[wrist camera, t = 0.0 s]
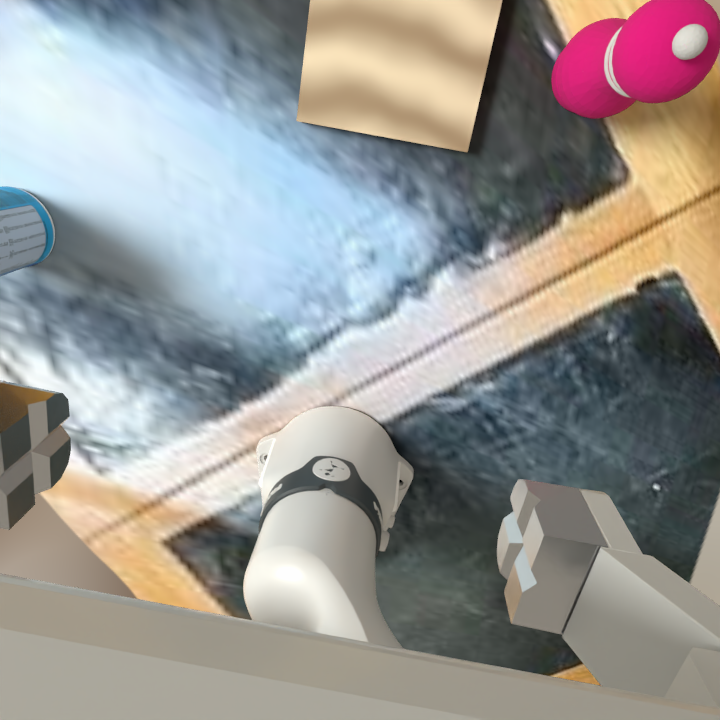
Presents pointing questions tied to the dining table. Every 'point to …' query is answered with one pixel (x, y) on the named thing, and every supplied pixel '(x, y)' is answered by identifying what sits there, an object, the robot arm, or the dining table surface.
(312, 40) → the oak board
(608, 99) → the pepper mill
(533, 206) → the dining table surface
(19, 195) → the beverage bottle
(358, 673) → the robot arm
